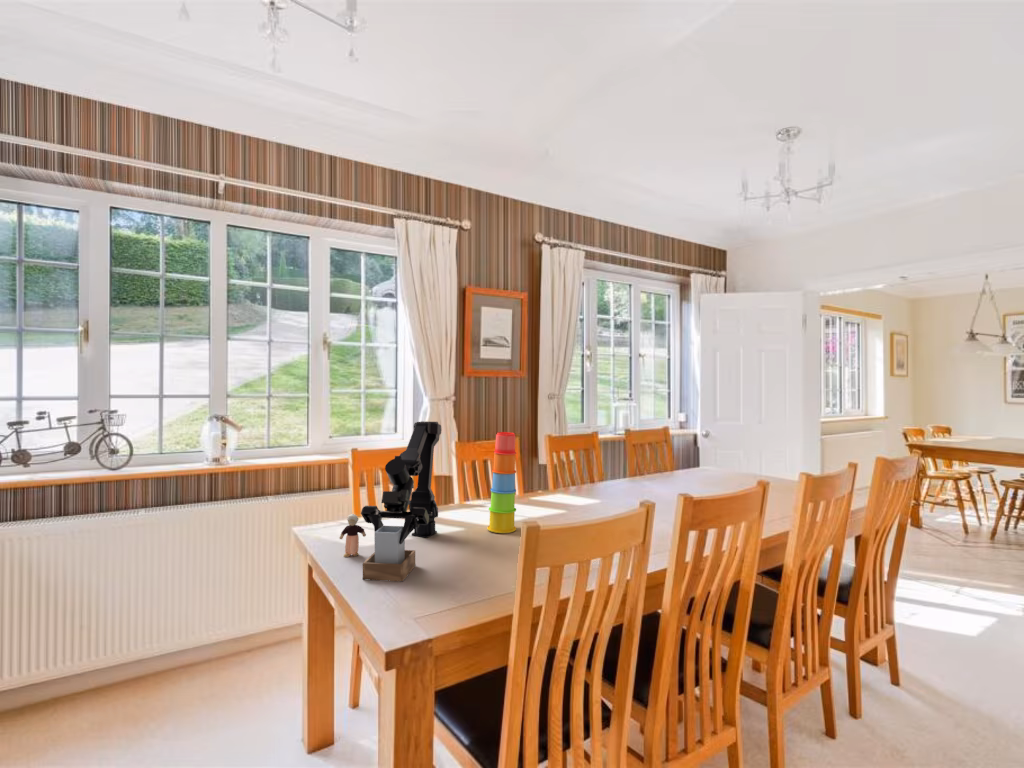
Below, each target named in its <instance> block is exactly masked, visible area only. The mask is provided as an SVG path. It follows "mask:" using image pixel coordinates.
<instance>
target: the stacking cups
mask: <svg viewBox="0 0 1024 768" xmlns="http://www.w3.org/2000/svg"><path fill="white" fill-rule="evenodd" d="M494 447H495V448H494V451H493V453H494V455H493V456H494V458H493V469H491V472H492V482H491V483H492V484H491V488H490V492H491V495H490V507H488V511H489V525H488V526H487V531H489V532H491V533H496V534H509V533H510V534H511V533H514V532H515V531H516V530H517V527H516V526H515V512H516V511H517V508H515V503H516V502H515V499H516V498H515V495H516V492H517V489H516V488H515V487H516V486H515V485H516V484H515V483H516V473H517V470H516V454H517V452H516V434H515V433H514V432H509V431H508V432H507V431H499V432H498V431H497V434H495V446H494Z"/></svg>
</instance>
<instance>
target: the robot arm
mask: <svg viewBox="0 0 1024 768" xmlns="http://www.w3.org/2000/svg"><path fill="white" fill-rule="evenodd" d="M442 430H443V429H442V425H441V424H440V423H439V422H438V421H422V420H421V421H416V422H414V424H413V431H412V434H411V437H410V438H409V441H408V444H407V446H406V449H405V450H404V451H403V452H401V453H400V454H399V455H395V456H394V458H393V459H390V460H389V461H388V462H387V463H386V464H385V468H384V469H385V473H386V474H387V477H388V478H389V481H390V483H391V484H392V488H391V491H390V490H389V491H388V490H387V491H386V490H385V491H382V497H381V504H383V508H384V509H386V510H379V508H378V506H377V505H364V506H363V507H362V508H361V511H360V516H361V517H362V518H363V520H364V521H365V523H367V524H372V525H373V528H374V533H375V532H376V531H377V530H378V529H379V528H380V527H382V526H384V523H383V521H382V519H402V520H403V519H404V524H403V529H402V533H401V536H400V541H399V543H400V544H402V543H403V541H404V540H405V541H406V539H407V537H408V536H409V535H410V534H411V536H415V537H420V538H429V537H430V536H433V535H435V534H437V532H438V531H437V530H436V520H435V519H436V518H438V517H439V507H438V505H437V503H436V499H435V497H436V496H435V494H434V491H433V490H432V488H431V487H432V477H433V466H434V465H433V464H434V452H435V451H434V450H435V446H436V445H437V444H438V442H439V440H440V436H441V434H442ZM412 477H417V487H416V488H415V486H414V484H415V483H414V482H415V481H414V479H413V478H412ZM414 488H415V490H414V491H413V489H414ZM408 508H409V511H408Z"/></svg>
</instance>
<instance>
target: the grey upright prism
mask: <svg viewBox="0 0 1024 768" xmlns="http://www.w3.org/2000/svg"><path fill="white" fill-rule="evenodd" d="M403 526H404V525H403ZM403 526H402V525H399V526H398V525H383V526H382V527H380V528H379V529H378V530H377V531H376V532H375V531H374V552H375V563H389V564H402V563H403V562H404V560H405V550H406V549H405V548H406V546H405V541H406V539H405V540H404V541H403V543H402V544H400V543H399V541H400V536H401V533H402V529H403Z"/></svg>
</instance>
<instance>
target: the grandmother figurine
mask: <svg viewBox="0 0 1024 768" xmlns="http://www.w3.org/2000/svg"><path fill="white" fill-rule="evenodd" d="M346 520H347V523H348V525H347V526H345V527H344V529H342V531H341V534H340V535H339V537H338V538H339V540H343V539H344V537H345V535H346V537H345V544H344V545H345V546H344V548H345V550H344V552H345V553H344V554H343V558H349V557H350V556H352V557H358V556H360V553H359V543H360V542H359V534H358V533H360V534H361V535H362V537H364V538H365V537H366V536H367V533H366V532H365V529H364V528H363V527H362V526H360V525H358V524H357V523H358V521H359V520H360V519H359V517H358V515H356V514H355V513H351V514H348V515H347V519H346ZM357 555H358V556H357Z"/></svg>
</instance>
